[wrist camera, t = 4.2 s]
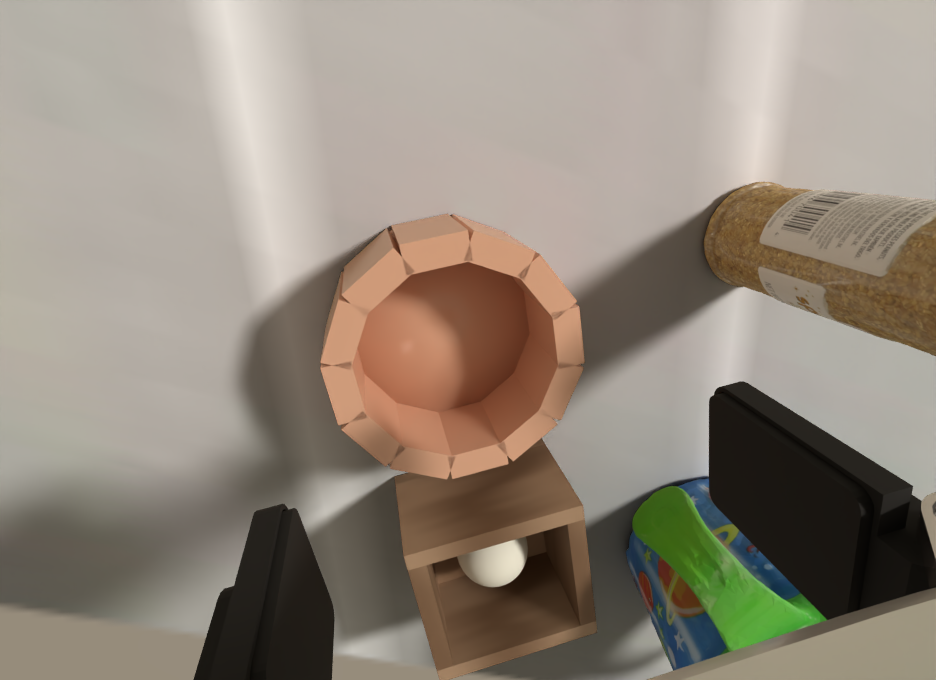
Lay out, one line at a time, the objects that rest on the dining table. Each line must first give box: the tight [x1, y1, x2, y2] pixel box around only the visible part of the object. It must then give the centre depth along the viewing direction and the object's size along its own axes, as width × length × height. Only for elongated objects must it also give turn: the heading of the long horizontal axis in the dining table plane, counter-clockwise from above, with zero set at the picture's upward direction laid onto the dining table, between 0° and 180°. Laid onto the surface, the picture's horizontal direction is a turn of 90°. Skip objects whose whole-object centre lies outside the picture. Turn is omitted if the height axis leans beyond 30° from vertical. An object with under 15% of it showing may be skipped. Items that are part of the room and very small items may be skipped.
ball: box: [457, 537, 528, 587], centre depth 24 cm, size 3×3×3 cm
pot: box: [320, 214, 585, 479], centre depth 20 cm, size 9×9×4 cm
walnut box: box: [395, 438, 597, 680], centre depth 23 cm, size 7×7×5 cm
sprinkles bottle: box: [704, 182, 936, 356], centre depth 17 cm, size 5×5×14 cm
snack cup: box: [626, 478, 827, 671], centre depth 24 cm, size 16×10×10 cm
